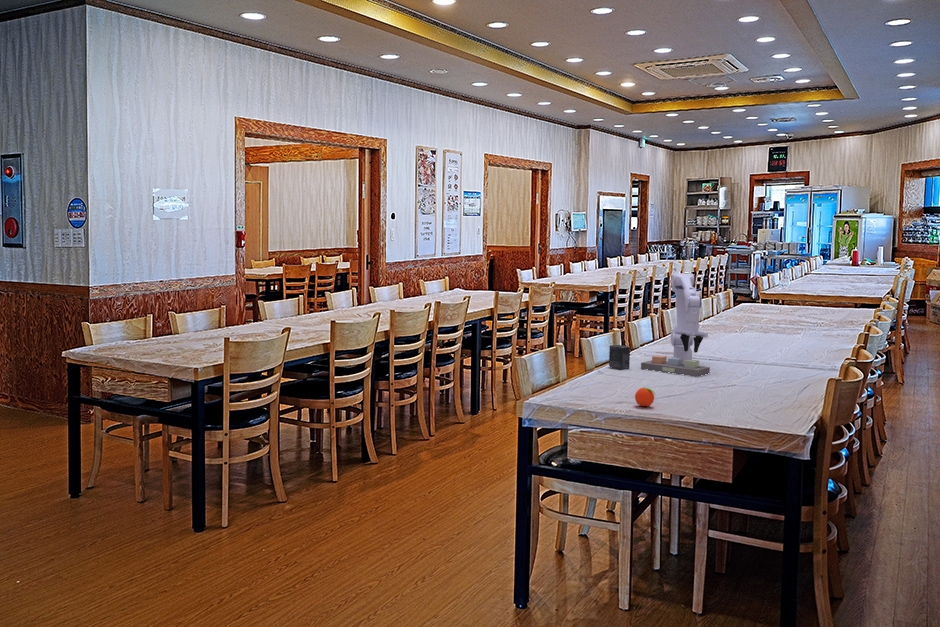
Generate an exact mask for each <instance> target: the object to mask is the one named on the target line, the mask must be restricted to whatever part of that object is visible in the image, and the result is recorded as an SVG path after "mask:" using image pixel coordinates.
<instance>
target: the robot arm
mask: <svg viewBox="0 0 940 627" xmlns="http://www.w3.org/2000/svg"><path fill="white" fill-rule="evenodd" d="M670 282H671V291H672V292H673V293H675V300H676V301H675V304H676V308H675V309H676V326H675V327H673V329H672V330H671V332H670V345H671V346H673V356H672V357H675V358H683V362H682V364H684V360H688V359H691V360H693V353H698V352H699V348H700V345H701V343H702V342H703V340H704V338H707V339H708V338H709V337H708V336H709V332H703V331H700V330H699V328H700V309H701V308H702V305H703V304H702V301H703V300H702V296H701V295H700V294H698V293H697V290H696V288H695V287H694V284H695V274H693V273H692V272H691V273H683V272H682V273H681V272H680V273H677V272H673V273H672V274H671V281H670ZM692 346H693V349H692V348H691V347H692Z"/></svg>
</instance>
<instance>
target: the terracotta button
mask: <svg viewBox="0 0 940 627" xmlns="http://www.w3.org/2000/svg"><path fill="white" fill-rule="evenodd" d="M651 360H652V363H656V364H665V363H666V362H667V361H668V357H667V356H666V355H660V354H659V355H658V354H656V355H653V356H651Z"/></svg>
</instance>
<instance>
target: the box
mask: <svg viewBox="0 0 940 627" xmlns="http://www.w3.org/2000/svg"><path fill="white" fill-rule="evenodd" d="M608 354H609V355H608V367H609V366H610V367H612V368H611V369H614V368H616V369H615V370H619V369H621V371H623V370H622V369H626V370H630V362H631V360H630V357H631V346H629V345H628V346H627V345H620V344H611V345H609V353H608Z"/></svg>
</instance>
